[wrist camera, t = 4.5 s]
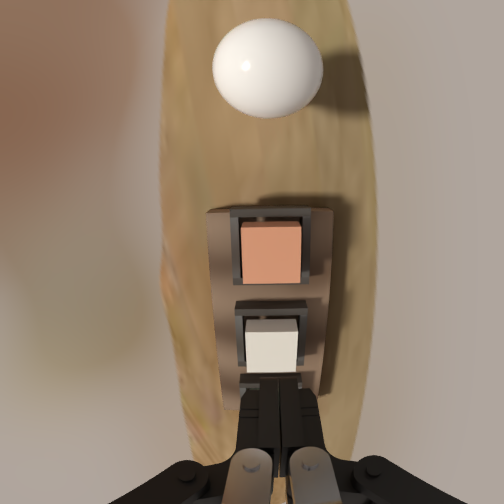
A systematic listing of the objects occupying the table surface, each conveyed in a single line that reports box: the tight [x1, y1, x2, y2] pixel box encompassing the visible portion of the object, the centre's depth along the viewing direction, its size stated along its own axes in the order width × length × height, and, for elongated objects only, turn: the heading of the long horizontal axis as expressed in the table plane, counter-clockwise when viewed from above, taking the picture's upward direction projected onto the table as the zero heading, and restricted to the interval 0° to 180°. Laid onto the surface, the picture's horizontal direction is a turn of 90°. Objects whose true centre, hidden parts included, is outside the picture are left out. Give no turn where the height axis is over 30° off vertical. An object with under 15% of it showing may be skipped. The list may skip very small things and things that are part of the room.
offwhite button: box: [245, 319, 298, 372], centre depth 24 cm, size 4×4×2 cm
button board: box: [206, 206, 334, 410], centre depth 26 cm, size 22×10×4 cm, turn 2°
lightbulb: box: [212, 18, 323, 119], centre depth 17 cm, size 6×6×11 cm
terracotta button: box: [241, 221, 301, 284], centre depth 21 cm, size 4×4×2 cm
